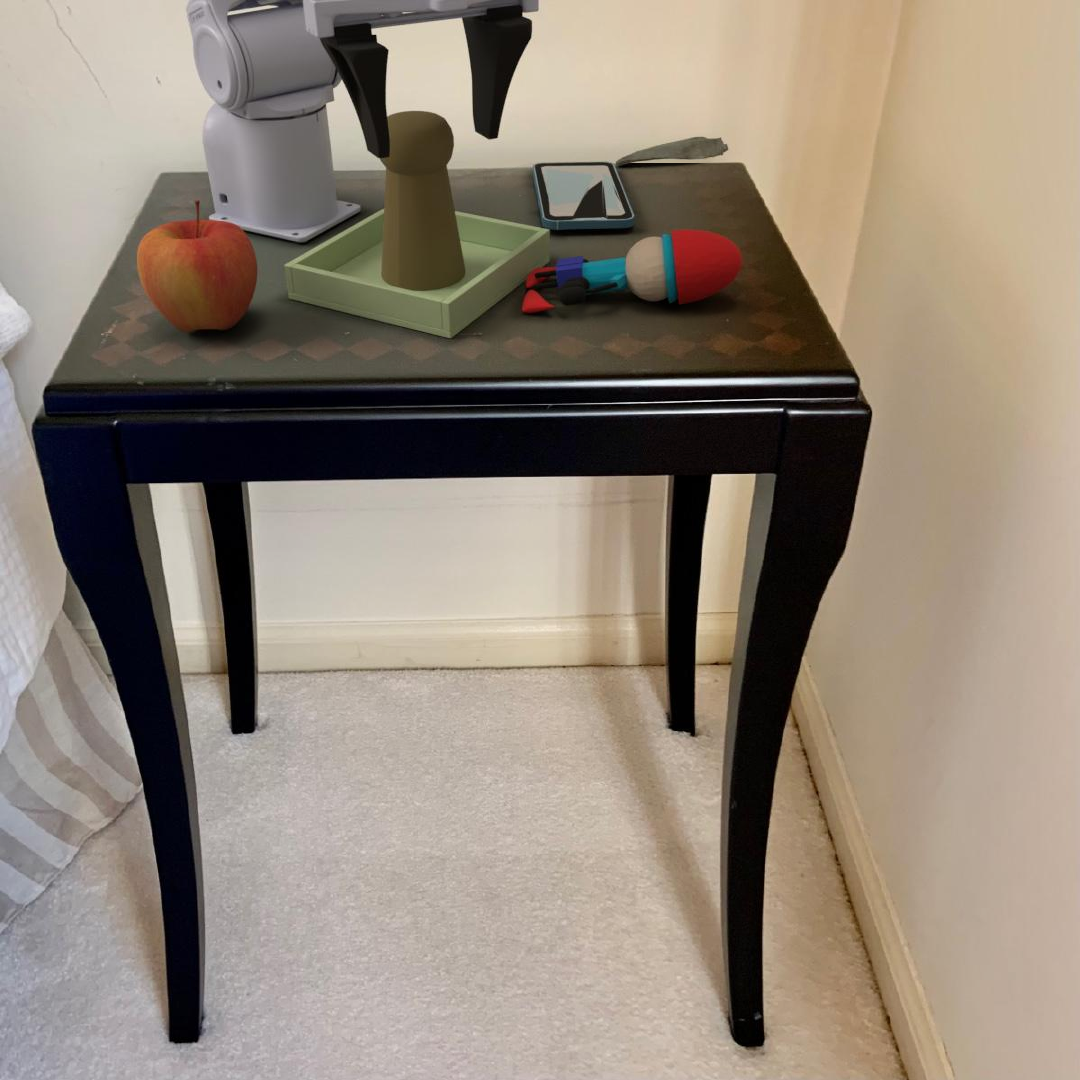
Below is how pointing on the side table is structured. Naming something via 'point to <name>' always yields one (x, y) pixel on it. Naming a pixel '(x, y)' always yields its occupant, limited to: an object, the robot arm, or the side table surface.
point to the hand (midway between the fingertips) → (433, 144)
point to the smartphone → (581, 196)
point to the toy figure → (645, 271)
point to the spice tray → (358, 288)
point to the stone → (679, 150)
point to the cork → (420, 205)
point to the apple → (198, 272)
